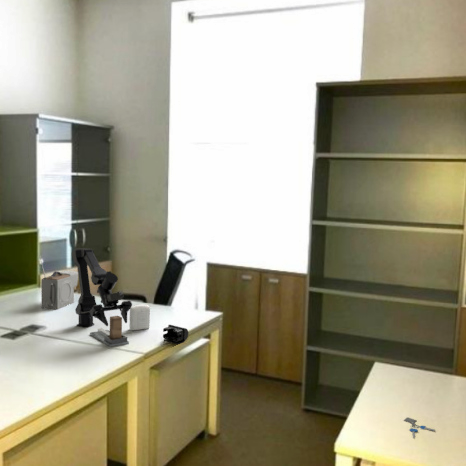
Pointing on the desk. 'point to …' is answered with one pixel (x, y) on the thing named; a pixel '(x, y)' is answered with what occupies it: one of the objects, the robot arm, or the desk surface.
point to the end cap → (175, 334)
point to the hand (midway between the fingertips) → (117, 324)
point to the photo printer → (139, 317)
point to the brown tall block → (115, 327)
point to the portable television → (58, 289)
